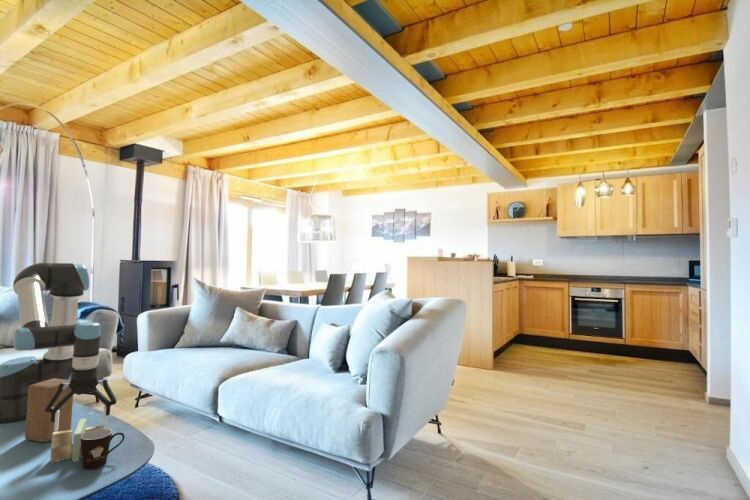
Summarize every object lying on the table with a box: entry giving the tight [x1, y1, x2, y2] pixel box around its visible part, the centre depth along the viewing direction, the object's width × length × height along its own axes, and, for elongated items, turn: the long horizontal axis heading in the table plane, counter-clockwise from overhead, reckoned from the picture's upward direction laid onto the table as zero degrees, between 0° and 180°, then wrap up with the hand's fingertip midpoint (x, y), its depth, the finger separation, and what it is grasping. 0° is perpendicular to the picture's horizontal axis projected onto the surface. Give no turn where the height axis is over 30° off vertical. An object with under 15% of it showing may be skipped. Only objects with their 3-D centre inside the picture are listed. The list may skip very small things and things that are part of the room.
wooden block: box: [24, 378, 74, 443], centre depth 148 cm, size 10×10×20 cm
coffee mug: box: [80, 427, 126, 471], centre depth 130 cm, size 12×9×10 cm
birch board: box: [49, 425, 105, 464], centre depth 134 cm, size 14×4×9 cm, turn 120°
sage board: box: [71, 418, 87, 462], centre depth 137 cm, size 14×2×9 cm, turn 30°
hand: (80, 427), depth 139 cm, fingers open, 13 cm apart
